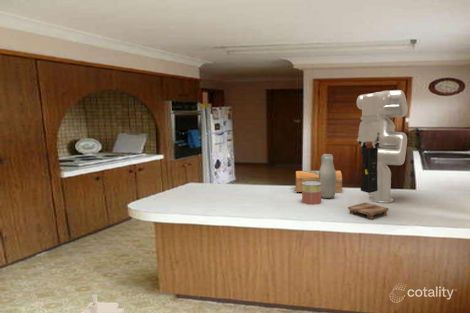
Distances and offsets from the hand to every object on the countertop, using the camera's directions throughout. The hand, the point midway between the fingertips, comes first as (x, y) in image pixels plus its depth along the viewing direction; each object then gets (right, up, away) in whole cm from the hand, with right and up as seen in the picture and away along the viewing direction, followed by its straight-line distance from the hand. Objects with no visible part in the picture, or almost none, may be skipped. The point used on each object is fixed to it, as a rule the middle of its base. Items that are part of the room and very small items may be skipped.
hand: (369, 154), depth 171 cm
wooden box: (-12, -25, +59) cm, 65 cm away
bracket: (-139, -107, -5) cm, 176 cm away
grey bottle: (-11, -27, +39) cm, 49 cm away
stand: (+1, -31, +4) cm, 32 cm away
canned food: (-23, -29, +29) cm, 47 cm away
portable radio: (+1, -19, +3) cm, 20 cm away
